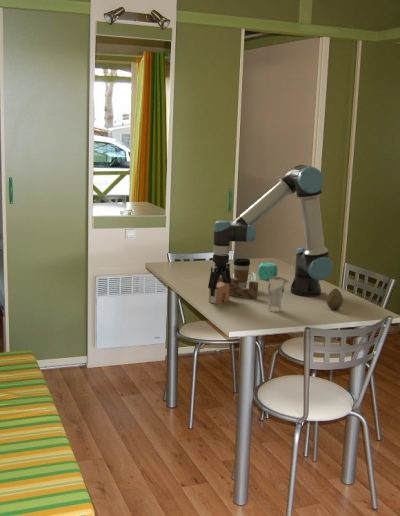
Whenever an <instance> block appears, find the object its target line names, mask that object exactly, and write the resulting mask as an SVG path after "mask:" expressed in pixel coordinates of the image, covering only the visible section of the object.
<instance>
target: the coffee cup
mask: <svg viewBox="0 0 400 516" xmlns="http://www.w3.org/2000/svg"><path fill="white" fill-rule="evenodd" d="M250 266H251V260H250V259H249V258H235V259H234V260H233V267H234V268H233V275H234V276H233V278H237V279H239V287H242V288H248V280H249V279H248V278H249V272H250Z"/></svg>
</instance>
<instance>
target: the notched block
mask: <svg viewBox="0 0 400 516" xmlns="http://www.w3.org/2000/svg"><path fill="white" fill-rule="evenodd" d="M229 285H230V283H225V282H218V283H217V286H216V289H217V294H216V303H214V304H215V305H220V304H222V301H224V302H226V301H229V300H230V295H229ZM208 295H209V296H208V303H211V302H210V297H211V289H209V294H208ZM211 304H212V303H211Z"/></svg>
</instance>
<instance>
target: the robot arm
mask: <svg viewBox="0 0 400 516" xmlns="http://www.w3.org/2000/svg"><path fill="white" fill-rule="evenodd" d="M324 181H325V180H324V175H323V173H322V171H320V170H319V169H318V168H317V167H316V166H315V167H314V166H311V165H305V164H299V165H295V166H293V167H292V168H291V169H289V171H287V172H286V173H285V174H284V175H282V176H281V177H280V178H279V179H278V182H277V183H276V185H274V186H272V188H271V189H269V190H268V191H267V192H266V193H265V194H264V195H263V196H262V197H261V198H259V199H258V200H257V201H255V202H254V203H253V204H252V205H251V206H250V207H248V209H246V210H245V211H244V212H243V213H241V214H240V215H239V216H238V217H236V219H233V220H230V221H229V220H222V219H220V220H216V221H215V222H214V225H213V229H214V230H213V246H212V247H213V250H212V253H213V254H212V262H213V263H214V266H211V267H210V275H209V280H208V286H207V289H209V290H210V289H211V297H210V302H211V304H215V303H216V294H217V289H216V286H217V283H218V280H219V277H220V276H222V280H223V282H225V283H231V278H232V277H231V269H230V267H231V265H230V264H231V263H229V262H230V247H231V246H230V244H231V242H239V243H240V242H243V243H244V242H245V243H248V242H250V243H251V242H254V241H255V240H256V237H257V229H256V227H255V226H254V225H255V224H256V223H257V222H259V221H260V220H261V219H262V218H263V217H265V215H266V214H267V213H269V212H270V211H271V210H273V208H275V207H276V206H277V205H278V204H279V203H281V202H282V201H283V200H285V198H286V197H288V196H290V195H294V194H295V193H296V198H298V199H299V201H300V205H301V207H300V208H301V214H302V222H303V230H304V231H303V232H304V240H305V247H298V248H297V249H296V253H295V268H294V269H295V271H294V278H293V281H292V283H291V285H290V293H291V294H293V295H296V296H302V297H303V296H304V297H316V296H320V295H321V294H322V288H321V285H320V284H321V283H320V281H324V280H326V279H328V278H329V277H330V276H331V275H332V273H333V271H334V264H333V261H332V260H331V259H330V253H329V249H328V248H327V247H326V246H325V239H324V231H323V229H324V228H323V221H322V220H323V219H322V214H321V211H322V210H321V205H320V204H321V203H320V197H321V195H322V194H323V193H322V192H323V191H322V188H323V186H324ZM228 279H229V280H228ZM210 302H209V303H210Z"/></svg>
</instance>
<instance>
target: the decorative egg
mask: <svg viewBox="0 0 400 516" xmlns="http://www.w3.org/2000/svg"><path fill="white" fill-rule="evenodd" d="M343 301H344V299H343V295H342V293H341V291H340V290H339V289H338V288H333V289H332V290H331V291H330V292H329V293H328V295H327V297H326V304H327V307H328V308H329V309H331V310H333V311H334V310H335V311H336V309H337V310H339V309H340V308H341V307H342V305H343Z"/></svg>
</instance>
